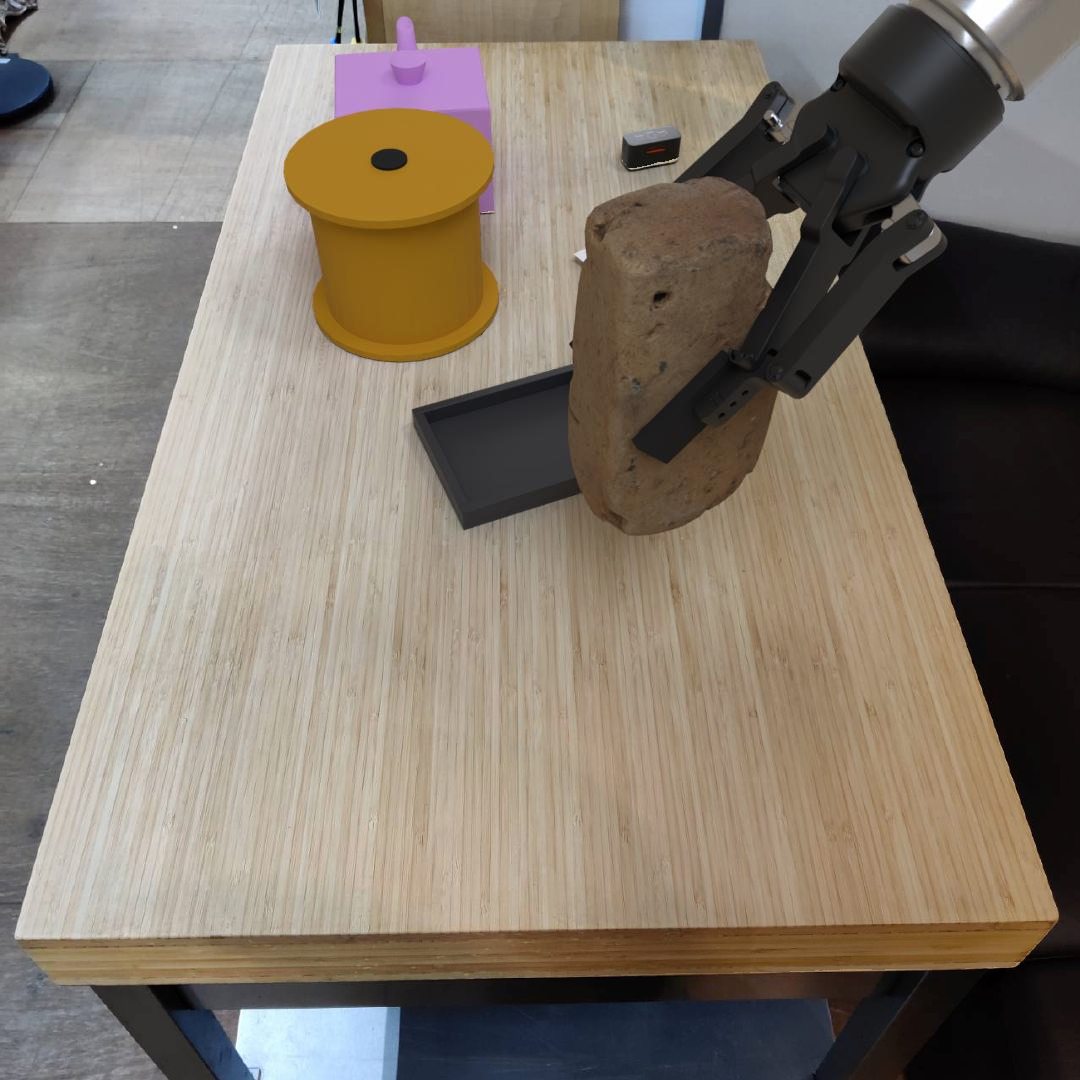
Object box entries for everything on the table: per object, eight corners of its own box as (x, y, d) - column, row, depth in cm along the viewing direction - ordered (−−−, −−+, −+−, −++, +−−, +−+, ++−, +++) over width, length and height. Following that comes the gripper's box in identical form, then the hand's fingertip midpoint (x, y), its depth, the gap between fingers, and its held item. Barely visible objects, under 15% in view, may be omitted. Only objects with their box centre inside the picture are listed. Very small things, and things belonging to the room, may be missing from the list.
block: (599, 555, 58) (622, 276, 43) (557, 467, 63) (563, 184, 47) (764, 510, 61) (842, 229, 45) (712, 428, 65) (767, 145, 49)
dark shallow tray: (640, 474, 82) (642, 456, 80) (463, 530, 78) (462, 513, 76) (577, 379, 89) (578, 361, 87) (413, 426, 85) (411, 408, 83)
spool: (481, 236, 103) (474, 96, 91) (515, 347, 92) (512, 204, 80) (307, 258, 100) (277, 116, 88) (320, 374, 89) (288, 230, 77)
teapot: (477, 118, 118) (472, -6, 107) (498, 240, 102) (494, 109, 91) (350, 125, 116) (331, 1, 105) (352, 250, 101) (329, 119, 90)
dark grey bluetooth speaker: (686, 162, 112) (690, 135, 109) (628, 173, 110) (630, 146, 108) (670, 142, 114) (673, 115, 112) (613, 152, 113) (614, 125, 110)
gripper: (1132, 209, 42) (742, 552, 51) (863, 12, 54) (583, 319, 63) (1089, 115, 37) (661, 517, 46) (800, -82, 49) (503, 269, 57)
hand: (616, 402), depth 54 cm, fingers closed on block, 7 cm apart
